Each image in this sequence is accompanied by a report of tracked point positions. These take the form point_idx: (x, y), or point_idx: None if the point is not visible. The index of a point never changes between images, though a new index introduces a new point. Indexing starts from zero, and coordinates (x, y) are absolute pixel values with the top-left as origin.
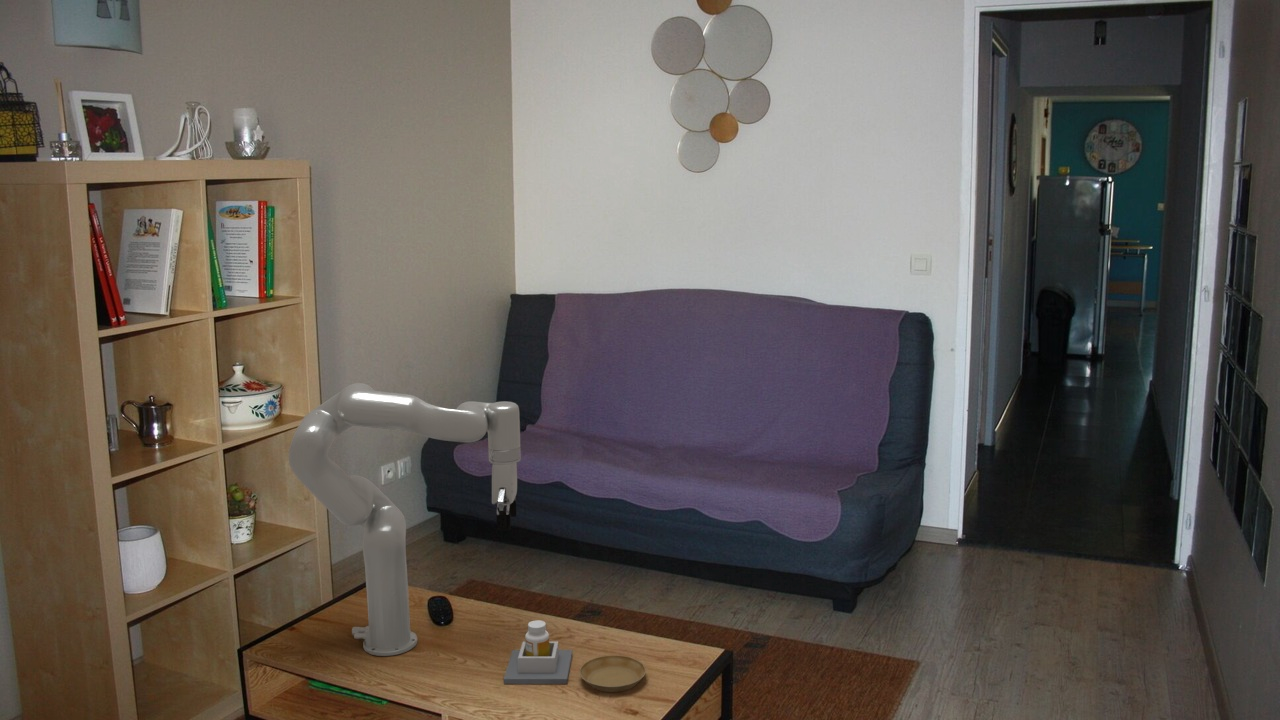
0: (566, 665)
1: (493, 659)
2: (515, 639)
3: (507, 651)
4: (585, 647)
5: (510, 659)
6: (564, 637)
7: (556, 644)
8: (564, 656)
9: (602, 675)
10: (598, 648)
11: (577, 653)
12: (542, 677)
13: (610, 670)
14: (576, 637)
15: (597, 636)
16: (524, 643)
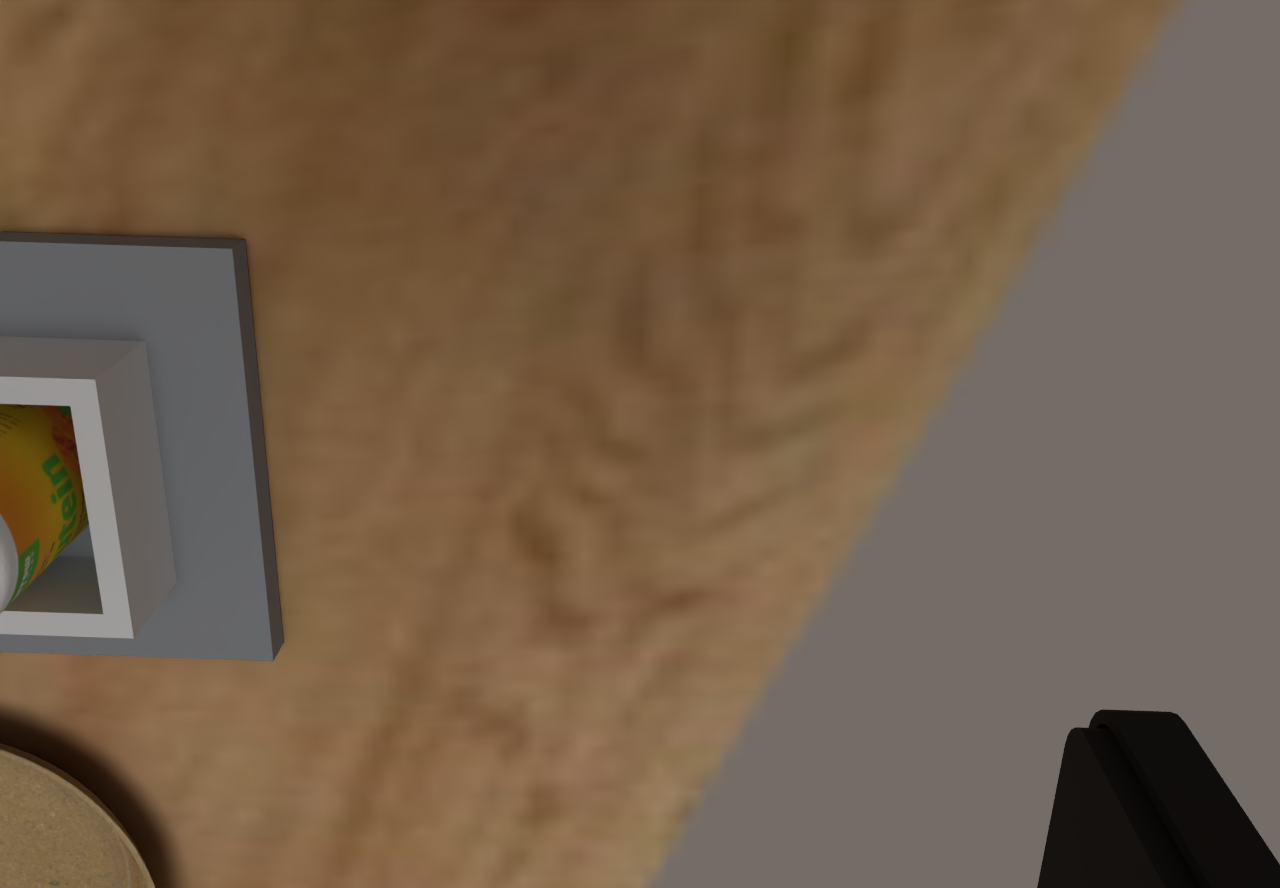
0: (40, 636)
1: (150, 95)
2: (508, 233)
3: (296, 192)
4: (395, 713)
5: (68, 251)
6: (545, 581)
7: (80, 629)
8: (168, 618)
9: (20, 813)
10: (385, 785)
11: (305, 670)
12: None
13: (91, 851)
14: (545, 656)
15: (560, 777)
16: (61, 396)
